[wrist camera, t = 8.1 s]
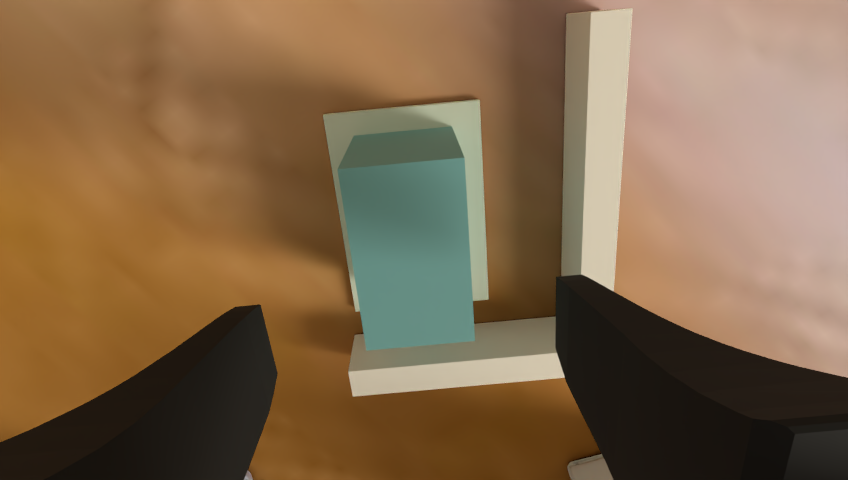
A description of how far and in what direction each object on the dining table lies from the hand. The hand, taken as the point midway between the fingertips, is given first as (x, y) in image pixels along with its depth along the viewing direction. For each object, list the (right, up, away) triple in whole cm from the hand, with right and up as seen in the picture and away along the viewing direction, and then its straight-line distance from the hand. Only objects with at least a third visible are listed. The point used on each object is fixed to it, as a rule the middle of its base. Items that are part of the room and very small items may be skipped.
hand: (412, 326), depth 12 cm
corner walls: (+2, +3, +7) cm, 8 cm away
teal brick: (0, +3, +7) cm, 8 cm away
